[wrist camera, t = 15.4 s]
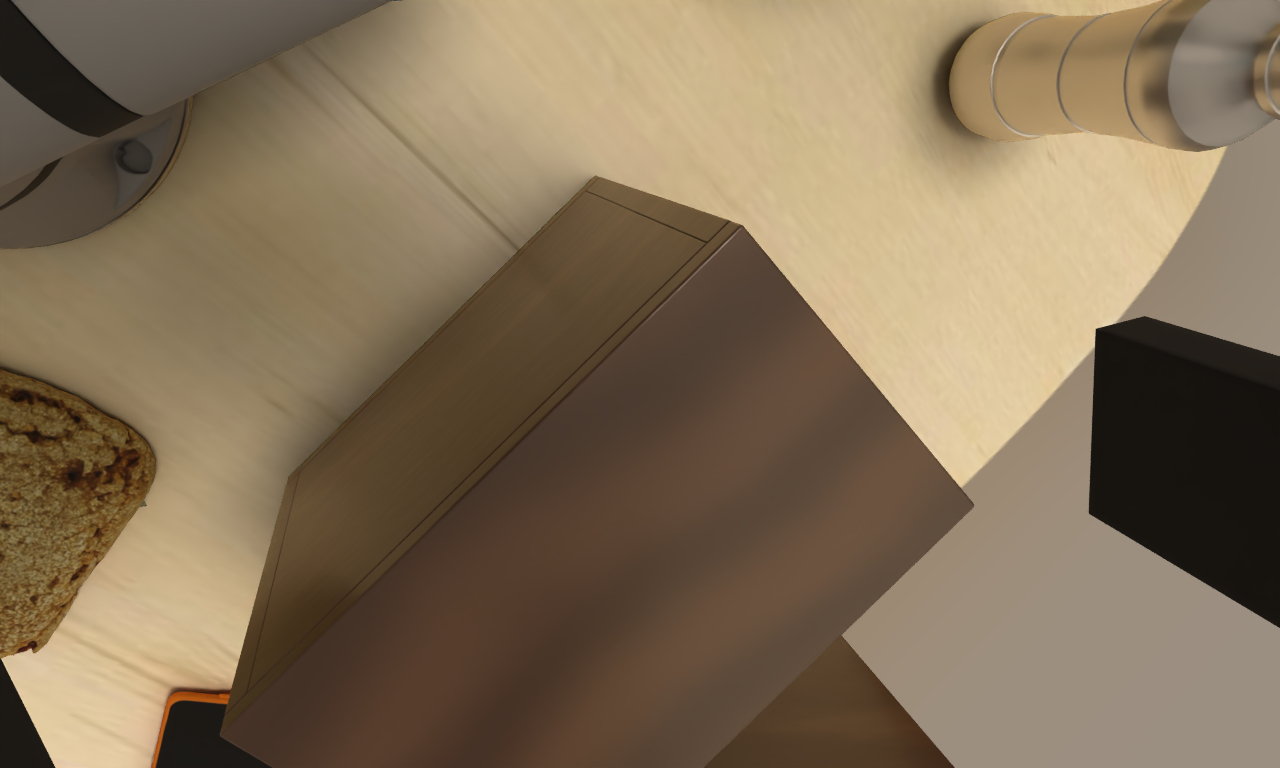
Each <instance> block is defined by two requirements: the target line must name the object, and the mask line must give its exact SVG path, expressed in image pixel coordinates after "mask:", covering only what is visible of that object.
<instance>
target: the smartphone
mask: <svg viewBox="0 0 1280 768" xmlns="http://www.w3.org/2000/svg"><path fill="white" fill-rule="evenodd" d="M229 696H230V694H219V695H215V694H205V693H195V692H184V691H183V692H176V693H174V694H172V695H171V696H170V697H169V698H168V700H167V703H166V707H165V712H164V716H163V720H162V724H161V729H160V733H159V737H158V742H157V746H156V750H155V754H154V759H153V763H152V767H151V768H273V767H271V766H269V765H268V764H266V763H264V762H262V761H261V760H259V759H257V758H256V757H254V756H252V755H251V754H249V753H247V752H246V751H244V750H242V749H241V748H239V747H237V746H236V745H234V744H232V743H231V742H229V741H227V740H226V739H224V738H222V737H221V736H220V732H221V728H222V725H223V721H224V717H225V711H226V707H227V704H228V700H229Z"/></svg>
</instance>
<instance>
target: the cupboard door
mask: <svg viewBox="0 0 1280 768" xmlns="http://www.w3.org/2000/svg"><path fill="white" fill-rule="evenodd" d="M704 768H954V766H953V765H952V764H951V763H950V762H949V761H948V759H947V758H946V757H945V756H944V755H943V754H942V752H941V751H940V750H939V749H938V748H937V747H936V745H935V744H934V743H933V742H932V741H931V740H930V738H929V737H928V736H927V735H926V734H925V733H924V732H923V730H922V729H921V728H920V727H919V726H918V724H917V723H916V722H915V721H914V720H913V719H912V717H911V716H910V715H909V714H908V713H907V712H906V710H905V709H904V708H903V707H902V706H901V705H900V703H899V702H898V701H897V700H896V699H895V698H894V696H893V695H892V694H891V693H890V692H889V691H888V689H887V688H886V687H885V686H884V685H883V684H882V682H881V681H880V680H879V679H878V678H877V677H876V675H875V674H874V673H873V672H872V671H871V670H870V668H869V667H868V666H867V665H866V664H865V663H864V661H863V660H862V659H861V658H860V657H859V656H858V654H857V653H856V652H855V651H854V650H853V649H852V647H851V646H850V645H849V644H848V643H847V642H846V640H845V639H844V638H843V637H842V636H840V637H839V638H838V639H837V640H836V641H835V642H834V643H833V644H832V645H830V646H829V647H828V648H827V649H826V650H825V651H824V652H823V653H822V654H821V655H820V656H819V657H818V658H817V659H816V660H815V661H814V662H813V663H812V664H811V665H810V666H809V667H808V668H807V669H806V670H805V671H804V672H803V673H801V674H800V675H799V676H798V677H797V678H796V679H795V680H794V681H793V682H792V683H791V684H790V685H789V686H788V687H787V688H786V689H785V690H784V691H783V692H782V693H781V694H780V695H779V696H778V697H777V698H776V699H775V700H774V701H772V702H771V703H770V704H769V705H768V706H767V707H766V708H765V709H764V710H763V711H762V712H761V713H760V714H759V715H758V716H757V717H756V718H755V719H754V720H753V721H752V722H751V723H750V724H749V725H748V726H747V727H746V728H745V729H743V730H742V731H741V732H740V733H739V734H738V735H737V736H736V737H735V738H734V739H733V740H732V741H731V742H730V743H729V744H728V745H727V746H726V747H725V748H724V749H723V750H722V751H721V752H720V753H719V754H718V755H717V756H716V757H714V758H713V759H712V760H711V761H710V762H709V763H708V764H707V765H706V766H705V767H704Z"/></svg>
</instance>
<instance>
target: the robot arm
mask: <svg viewBox="0 0 1280 768" xmlns="http://www.w3.org/2000/svg"><path fill="white" fill-rule="evenodd" d="M390 1H401V0H0V249H19V248H34V247H41V246H49V245H53V244H58V243H62V242H66V241H70V240H73V239H76V238H79V237H82V236H85V235H88V234H90V233H92V232H94V231H97V230H99V229H101V228H103V227H106V226H108V225H110V224H112V223H114V222H115V221H117V220H119V219H121V218H122V217H124V216H126V215H127V214H128V213H130V212H131V211H132V210H134V209H135V208H137V207H138V206H139V205H140V204H141V203H143V202H144V201H145V200H146V199H147V198H148V197H149V196H150V195H151V194H152V193H153V192H154V191H155V190H156V189H157V187H158V186H159V185H160V184H161V183H162V182H163V180H164V179H165V177H166V176H167V174H168V173H169V171H170V170H171V169H172V167H173V165H174V163H175V161H176V159H177V157H178V156H179V154H180V151H181V149H182V146H183V144H184V141H185V139H186V135H187V131H188V128H189V124H190V119H191V113H192V106H193V95H195V94H197V93H199V92H201V91H203V90H205V89H207V88H209V87H211V86H213V85H216V84H218V83H220V82H222V81H224V80H226V79H228V78H230V77H232V76H235V75H237V74H239V73H241V72H243V71H245V70H247V69H249V68H251V67H253V66H256V65H258V64H260V63H262V62H264V61H266V60H268V59H270V58H272V57H274V56H277V55H279V54H281V53H283V52H285V51H287V50H289V49H291V48H293V47H295V46H298V45H300V44H302V43H304V42H306V41H308V40H310V39H312V38H314V37H316V36H319V35H321V34H323V33H325V32H327V31H329V30H331V29H333V28H335V27H338V26H340V25H342V24H344V23H346V22H348V21H350V20H352V19H354V18H356V17H359V16H361V15H363V14H365V13H367V12H369V11H371V10H373V9H375V8H377V7H380V6H382V5H384V4H386V3H388V2H390ZM1094 364H1095V365H1094V388H1093V416H1092V442H1091V467H1090V493H1089V514H1090V515H1092V516H1094V517H1095V518H1097V519H1099V520H1100V521H1102V522H1104V523H1105V524H1107V525H1109V526H1110V527H1112V528H1114V529H1115V530H1117V531H1119V532H1121V533H1122V534H1124V535H1126V536H1127V537H1129V538H1131V539H1132V540H1134V541H1136V542H1137V543H1139V544H1141V545H1142V546H1144V547H1146V548H1147V549H1149V550H1151V551H1152V552H1154V553H1156V554H1157V555H1159V556H1161V557H1162V558H1164V559H1166V560H1167V561H1169V562H1171V563H1172V564H1174V565H1176V566H1177V567H1179V568H1181V569H1182V570H1184V571H1186V572H1187V573H1189V574H1191V575H1192V576H1194V577H1196V578H1197V579H1199V580H1201V581H1202V582H1204V583H1206V584H1207V585H1209V586H1211V587H1212V588H1214V589H1216V590H1217V591H1219V592H1221V593H1223V594H1224V595H1226V596H1227V597H1229V598H1231V599H1232V600H1234V601H1236V602H1237V603H1239V604H1241V605H1242V606H1244V607H1246V608H1247V609H1249V610H1251V611H1253V612H1254V613H1256V614H1257V615H1259V616H1261V617H1263V618H1264V619H1266V620H1267V621H1269V622H1271V623H1272V624H1274V625H1276V626H1277V627H1279V628H1280V356H1276V355H1273V354H1270V353H1267V352H1263V351H1260V350H1257V349H1253V348H1250V347H1246V346H1243V345H1240V344H1236V343H1233V342H1230V341H1226V340H1223V339H1219V338H1216V337H1213V336H1210V335H1206V334H1203V333H1199V332H1196V331H1192V330H1189V329H1186V328H1183V327H1179V326H1176V325H1172V324H1169V323H1166V322H1162V321H1159V320H1156V319H1152V318H1149V317H1146V316H1144V317H1140V318H1136V319H1132V320H1128V321H1124V322H1121V323H1117V324H1113V325H1109V326H1105V327H1101V328H1097V329H1096V336H1095V363H1094ZM0 768H55V766H54V764H53V762H52V760H51V758H50V756H49V754H48V752H47V750H46V748H45V746H44V744H43V742H42V740H41V738H40V736H39V734H38V732H37V730H36V728H35V726H34V724H33V722H32V720H31V718H30V716H29V714H28V712H27V710H26V708H25V706H24V704H23V702H22V700H21V698H20V696H19V694H18V692H17V690H16V688H15V686H14V684H13V682H12V680H11V678H10V676H9V674H8V672H7V670H6V668H5V666H4V664H3V662H2V660H1V658H0Z"/></svg>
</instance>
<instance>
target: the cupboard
mask: <svg viewBox="0 0 1280 768" xmlns="http://www.w3.org/2000/svg"><path fill="white" fill-rule="evenodd" d="M973 507H974V504H973V502H972V501H971V500H970V499H969V498H968V497H967V495H966V494H965V493H964V492H963V490H962V489H961V488H960V487H959V486H958V484H957V483H956V482H955V481H954V480H953V478H952V477H951V476H950V475H949V473H948V472H947V471H946V470H945V469H944V467H943V466H942V465H941V464H940V463H939V461H938V460H937V459H936V458H935V457H934V455H933V454H932V453H931V452H930V451H929V449H928V448H927V447H926V446H925V445H924V443H923V442H922V441H921V440H920V439H919V437H918V436H917V435H916V434H915V432H914V431H913V430H912V429H911V428H910V426H909V425H908V424H907V423H906V422H905V420H904V419H903V418H902V417H901V416H900V414H899V413H898V412H897V411H896V410H895V408H894V407H893V406H892V405H891V404H890V402H889V401H888V400H887V399H886V398H885V396H884V395H883V394H882V393H881V392H880V390H879V389H878V388H877V387H876V385H875V384H874V383H873V382H872V381H871V379H870V378H869V377H868V376H867V375H866V373H865V372H864V371H863V370H862V369H861V367H860V366H859V365H858V364H857V363H856V361H855V360H854V359H853V358H852V357H851V355H850V354H849V353H848V352H847V351H846V349H845V348H844V347H843V346H842V344H841V343H840V342H839V341H838V340H837V338H836V337H835V336H834V335H833V334H832V332H831V331H830V330H829V329H828V328H827V326H826V325H825V324H824V323H823V322H822V320H821V319H820V318H819V317H818V316H817V314H816V313H815V312H814V311H813V310H812V308H811V307H810V306H809V305H808V303H807V302H806V301H805V300H804V299H803V297H802V296H801V295H800V294H799V293H798V291H797V290H796V289H795V288H794V287H793V285H792V284H791V283H790V282H789V281H788V279H787V278H786V277H785V276H784V275H783V273H782V272H781V271H780V270H779V269H778V267H777V266H776V265H775V264H774V263H773V261H772V260H771V259H770V258H769V256H768V255H767V254H766V253H765V252H764V250H763V249H762V248H761V247H760V246H759V244H758V243H757V242H756V241H755V240H754V238H753V237H752V236H751V235H750V234H749V232H748V231H747V230H746V229H745V228H744V226H742V225H740V224H737V223H734V222H731V221H729V220H726V219H723V218H720V217H717V216H714V215H711V214H708V213H705V212H702V211H700V210H697V209H694V208H691V207H688V206H685V205H682V204H679V203H676V202H673V201H670V200H667V199H664V198H661V197H658V196H655V195H652V194H649V193H646V192H643V191H640V190H637V189H634V188H631V187H628V186H625V185H622V184H619V183H616V182H613V181H610V180H607V179H604V178H601V177H598V176H595V177H594V178H593V179H592V180H590V181H589V182H588V183H587V184H586V185H585V186H584V187H583V188H582V189H581V190H580V191H579V192H578V193H577V194H576V195H575V196H574V197H573V198H572V199H571V200H570V201H569V202H568V203H567V204H566V205H565V206H564V207H563V208H562V209H561V210H560V211H559V212H558V213H557V214H556V215H555V216H554V217H553V218H552V219H551V220H550V221H549V222H548V223H547V224H546V225H545V226H544V227H543V228H542V229H541V230H540V231H539V232H538V233H537V234H536V235H535V236H534V237H532V238H531V239H530V240H529V241H528V242H527V243H526V244H525V245H524V246H523V247H522V248H521V249H520V250H519V251H518V252H517V253H516V254H515V255H514V256H513V257H512V258H511V259H510V260H509V261H508V262H507V263H506V264H505V265H504V266H503V267H502V268H501V269H500V270H499V271H498V272H497V273H496V274H495V275H494V276H493V277H492V278H491V279H490V280H489V281H488V282H487V283H486V284H485V285H484V286H483V287H482V288H481V289H480V290H479V291H478V292H477V293H476V294H474V295H473V296H472V297H471V298H470V299H469V300H468V301H467V302H466V303H465V304H464V305H463V306H462V307H461V308H460V309H459V310H458V311H457V312H456V313H455V314H454V315H453V316H452V317H451V318H450V319H449V320H448V321H447V322H446V323H445V324H444V325H443V326H442V327H441V328H440V329H439V330H438V331H437V332H436V333H435V334H434V335H433V336H432V337H431V338H430V339H429V340H428V341H427V342H426V343H425V344H424V345H423V346H422V347H421V348H420V349H419V350H418V351H416V352H415V353H414V354H413V355H412V356H411V357H410V358H409V359H408V360H407V361H406V362H405V363H404V364H403V365H402V366H401V367H400V368H399V369H398V370H397V371H396V372H395V373H394V374H393V375H392V376H391V377H390V378H389V379H388V380H387V381H386V382H385V383H384V384H383V385H382V386H381V387H380V388H379V389H378V390H377V391H376V392H375V393H374V394H373V395H372V396H371V397H370V398H369V399H368V400H367V401H366V402H365V403H364V404H363V405H362V406H361V407H360V408H358V409H357V410H356V411H355V412H354V413H353V414H352V415H351V416H350V417H349V418H348V419H347V420H346V421H345V422H344V423H343V424H342V425H341V426H340V427H339V428H338V429H337V430H336V431H335V432H334V433H333V434H332V435H331V436H330V437H329V438H328V439H327V440H326V441H325V442H324V443H323V444H322V445H321V446H320V447H319V448H318V449H317V450H316V451H315V452H314V453H313V454H312V455H311V456H310V457H309V458H308V459H307V460H306V461H305V462H304V463H303V464H302V465H300V466H299V467H298V468H297V469H296V470H295V471H294V472H293V473H292V474H291V475H290V476H289V477H288V480H287V484H286V487H285V490H284V494H283V498H282V502H281V505H280V509H279V513H278V517H277V520H276V524H275V528H274V532H273V535H272V539H271V543H270V547H269V550H268V554H267V558H266V562H265V565H264V569H263V573H262V576H261V580H260V584H259V588H258V591H257V595H256V599H255V603H254V606H253V610H252V614H251V618H250V621H249V625H248V629H247V633H246V636H245V640H244V644H243V648H242V651H241V655H240V659H239V663H238V666H237V670H236V674H235V678H234V681H233V685H232V689H231V692H230V696H229V700H228V704H227V707H226V711H225V717H224V721H223V725H222V728H221V732H220V736H221V737H222V738H224V739H226V740H227V741H229V742H231V743H232V744H234V745H236V746H237V747H239V748H241V749H242V750H244V751H246V752H247V753H249V754H251V755H252V756H254V757H256V758H257V759H259V760H261V761H262V762H264V763H266V764H268V765H269V766H271V767H273V768H704V767H705V766H706V765H707V764H708V763H709V762H710V761H711V760H712V759H713V758H714V757H716V756H717V755H718V754H719V753H720V752H721V751H722V750H723V749H724V748H725V747H726V746H727V745H728V744H729V743H730V742H731V741H732V740H733V739H734V738H735V737H736V736H737V735H738V734H739V733H740V732H741V731H742V730H743V729H745V728H746V727H747V726H748V725H749V724H750V723H751V722H752V721H753V720H754V719H755V718H756V717H757V716H758V715H759V714H760V713H761V712H762V711H763V710H764V709H765V708H766V707H767V706H768V705H769V704H770V703H771V702H772V701H774V700H775V699H776V698H777V697H778V696H779V695H780V694H781V693H782V692H783V691H784V690H785V689H786V688H787V687H788V686H789V685H790V684H791V683H792V682H793V681H794V680H795V679H796V678H797V677H798V676H799V675H800V674H801V673H803V672H804V671H805V670H806V669H807V668H808V667H809V666H810V665H811V664H812V663H813V662H814V661H815V660H816V659H817V658H818V657H819V656H820V655H821V654H822V653H823V652H824V651H825V650H826V649H827V648H828V647H829V646H830V645H832V644H833V643H834V642H835V641H836V640H837V639H838V638H839V637H840V636H841V635H842V634H843V633H844V632H845V631H846V630H847V629H848V628H849V627H850V626H851V625H852V624H853V623H854V622H855V621H856V620H857V619H858V618H859V617H861V616H862V615H863V614H864V613H865V612H866V610H868V609H869V608H870V607H871V606H872V605H873V604H874V603H875V602H876V601H877V600H878V599H879V598H880V597H881V596H882V595H883V594H884V593H885V592H886V591H887V590H889V588H891V587H892V586H893V585H894V584H895V583H896V582H897V581H898V580H899V579H900V578H901V577H902V576H903V575H904V574H905V573H906V572H907V571H908V570H909V569H910V568H911V567H912V566H913V565H914V564H915V563H916V562H918V561H919V560H920V559H921V558H922V557H923V556H924V555H925V554H926V553H927V552H928V551H929V550H930V549H931V548H932V547H933V546H934V545H935V544H936V543H937V542H938V541H939V540H940V539H941V538H942V537H943V536H944V535H945V534H946V533H948V531H950V530H951V529H952V528H953V527H954V525H956V524H957V523H958V522H959V521H960V520H961V519H962V518H963V517H964V516H965V515H966V514H967V513H968V512H969V511H970V510H971V509H972V508H973Z"/></svg>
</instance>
